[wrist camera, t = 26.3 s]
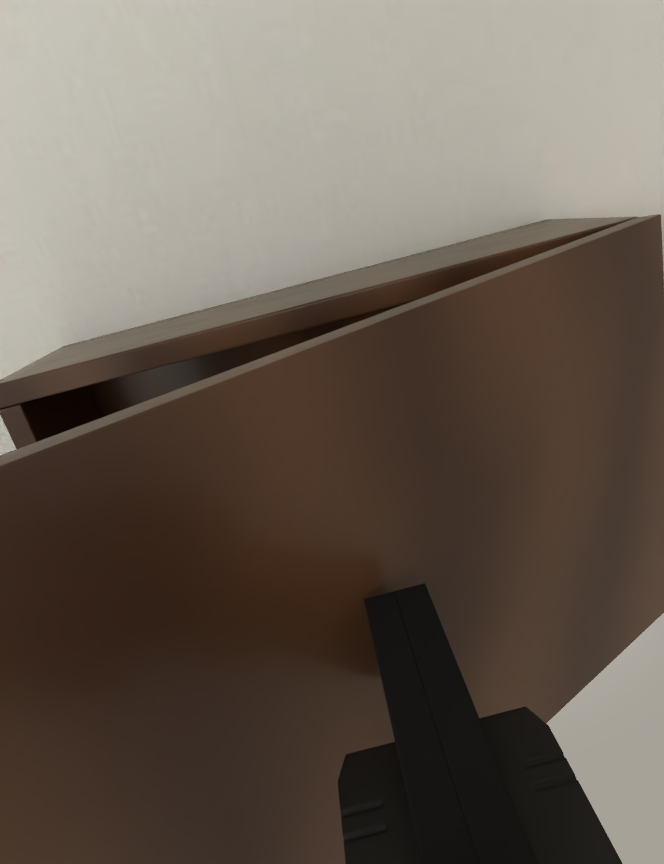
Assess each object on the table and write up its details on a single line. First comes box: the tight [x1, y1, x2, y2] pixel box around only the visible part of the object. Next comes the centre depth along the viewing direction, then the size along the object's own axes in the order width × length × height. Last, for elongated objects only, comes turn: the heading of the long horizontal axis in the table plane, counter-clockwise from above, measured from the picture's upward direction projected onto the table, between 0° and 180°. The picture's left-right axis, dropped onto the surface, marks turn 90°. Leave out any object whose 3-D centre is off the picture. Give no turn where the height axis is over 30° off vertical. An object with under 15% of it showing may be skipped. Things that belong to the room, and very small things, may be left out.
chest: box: [0, 217, 638, 449], centre depth 24 cm, size 22×15×7 cm
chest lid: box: [0, 215, 664, 864], centre depth 15 cm, size 23×15×1 cm, turn 103°
